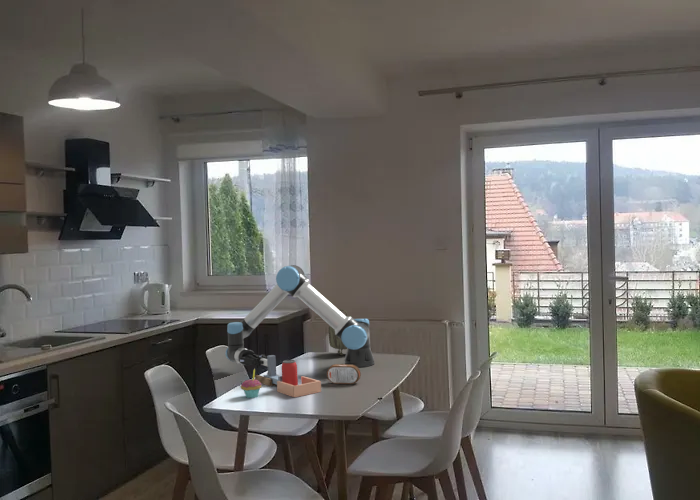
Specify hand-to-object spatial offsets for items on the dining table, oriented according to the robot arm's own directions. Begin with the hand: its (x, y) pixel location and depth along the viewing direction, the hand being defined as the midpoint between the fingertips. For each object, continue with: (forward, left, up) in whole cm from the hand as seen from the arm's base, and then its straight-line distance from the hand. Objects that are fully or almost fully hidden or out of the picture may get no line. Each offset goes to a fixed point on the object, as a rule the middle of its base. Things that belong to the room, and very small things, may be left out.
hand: (268, 363), depth 287 cm
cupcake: (+1, +25, -9) cm, 26 cm away
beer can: (-12, +12, -9) cm, 19 cm away
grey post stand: (-4, +4, -9) cm, 11 cm away
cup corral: (-18, +17, -9) cm, 26 cm away
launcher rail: (0, 0, -9) cm, 9 cm away
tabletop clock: (-23, -66, -9) cm, 70 cm away
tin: (-34, +3, -9) cm, 36 cm away
